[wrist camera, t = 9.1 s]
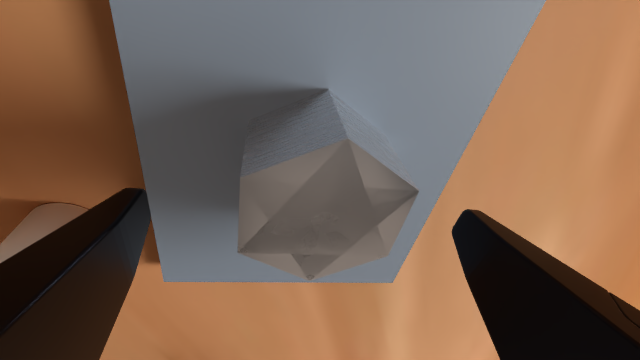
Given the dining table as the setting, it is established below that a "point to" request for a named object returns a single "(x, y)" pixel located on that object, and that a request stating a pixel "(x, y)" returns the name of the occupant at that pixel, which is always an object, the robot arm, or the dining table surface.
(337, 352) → the dining table surface
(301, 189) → the grey faceted polyhedron
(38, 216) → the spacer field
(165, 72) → the board
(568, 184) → the dining table surface
